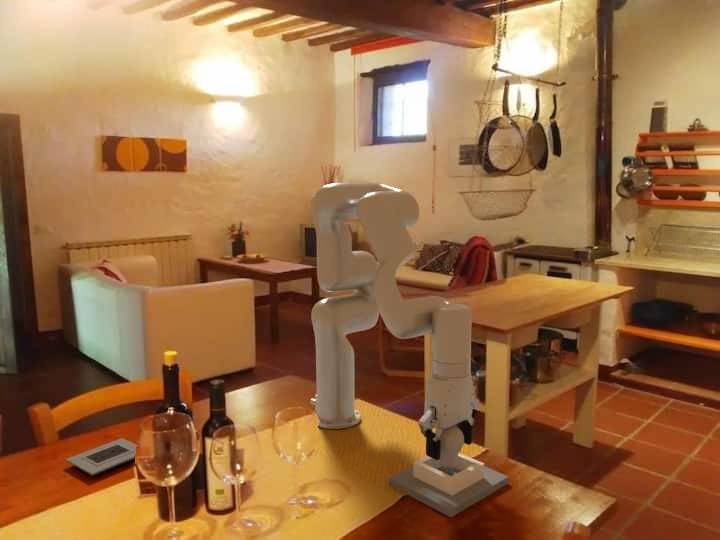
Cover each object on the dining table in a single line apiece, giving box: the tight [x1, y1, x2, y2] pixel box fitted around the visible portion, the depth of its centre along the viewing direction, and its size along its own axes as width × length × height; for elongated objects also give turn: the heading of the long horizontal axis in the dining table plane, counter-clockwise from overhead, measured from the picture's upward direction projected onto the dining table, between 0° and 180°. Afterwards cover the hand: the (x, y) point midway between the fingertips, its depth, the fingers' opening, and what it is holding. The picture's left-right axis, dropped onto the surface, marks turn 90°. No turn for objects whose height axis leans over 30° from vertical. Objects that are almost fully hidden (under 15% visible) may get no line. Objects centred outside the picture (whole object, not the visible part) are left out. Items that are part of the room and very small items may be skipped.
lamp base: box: [388, 452, 509, 518], centre depth 121 cm, size 16×18×4 cm
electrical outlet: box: [65, 438, 137, 477], centre depth 131 cm, size 13×10×2 cm
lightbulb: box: [433, 424, 465, 476], centre depth 120 cm, size 6×6×11 cm
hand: (449, 449), depth 120 cm, fingers open, 9 cm apart
